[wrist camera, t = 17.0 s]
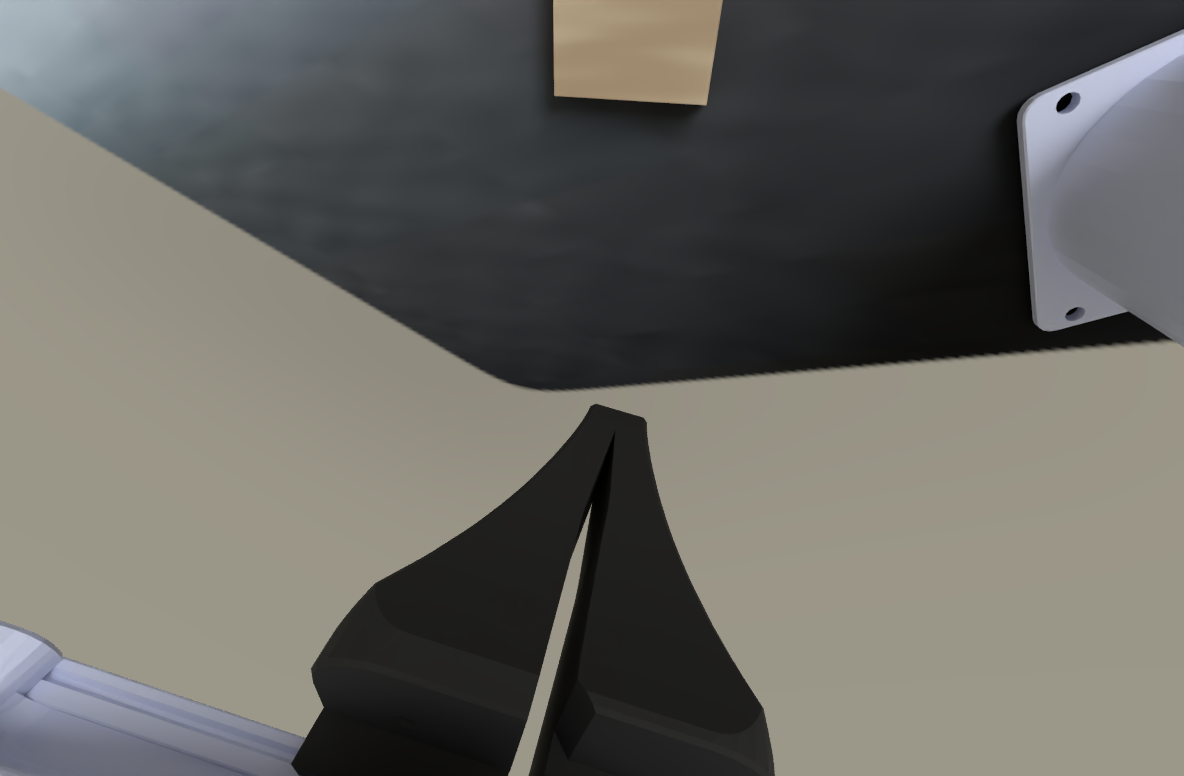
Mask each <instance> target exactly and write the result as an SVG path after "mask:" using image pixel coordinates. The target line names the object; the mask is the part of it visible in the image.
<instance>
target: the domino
mask: <svg viewBox="0 0 1184 776" xmlns="http://www.w3.org/2000/svg"><path fill="white" fill-rule="evenodd" d="M722 1H723V0H553V23H554V96H566V97H582V98H598V99H614V100H630V101H646V102H662V103H678V104H694V105H707V98H708V92H709V85H710V79H711V72H712V66H713V59H714V53H715V46H716V40H717V33H718V27H719V20H720V14H721V7H722Z"/></svg>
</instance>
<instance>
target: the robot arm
mask: <svg viewBox="0 0 1184 776" xmlns="http://www.w3.org/2000/svg"><path fill="white" fill-rule="evenodd" d="M1067 93H1071V95H1072V99H1071V102H1070V104H1069V105H1068V106H1067V107H1066V108H1065V109H1063V110H1062V111H1060V112H1057V110H1056V106H1057V102H1058V101H1059V100H1060V99H1061V97H1063V96H1064V95H1066V94H1067ZM1017 129H1018V142H1019V154H1020V167H1021V179H1022V191H1023V204H1024V216H1025V229H1026V241H1027V253H1028V266H1029V278H1030V291H1031V303H1032V316H1033V321H1034V324H1036V325H1037V326H1038V327H1039V328H1040V329H1042V330H1044V331H1055V330H1060V329H1063V328H1067V327H1071V326H1075V325H1078V324H1082V323H1086V322H1090V321H1094V320H1097V319H1101V318H1105V317H1109V316H1113V315H1116V314H1120V313H1124V312H1128V311H1129V312H1131V313H1132V314H1134V315H1135V316H1137V317H1139V318H1140V319H1142V320H1143V321H1145V322H1146V323H1148V324H1149V325H1151V326H1152V327H1154V328H1156V329H1157V330H1159V331H1160V332H1162V333H1163V334H1165V335H1166V336H1168V337H1170V338H1171V339H1173V340H1174V341H1176V342H1177V343H1179V344H1180V345H1182V346H1183V347H1184V29H1183V30H1181V31H1179V32H1176V33H1174V34H1172V35H1169V36H1167V37H1165V38H1163V39H1160V40H1158V41H1156V42H1154V43H1151V44H1149V45H1147V46H1144V47H1142V48H1140V49H1138V50H1135V51H1133V52H1131V53H1128V54H1126V55H1124V56H1122V57H1119V58H1117V59H1115V60H1113V61H1110V62H1108V63H1106V64H1103V65H1101V66H1099V67H1097V68H1094V69H1092V70H1090V71H1087V72H1085V73H1083V74H1081V75H1078V76H1076V77H1074V78H1071V79H1069V80H1067V81H1065V82H1062V83H1060V84H1058V85H1056V86H1053V87H1051V88H1049V89H1046V90H1044V91H1042V92H1040V93H1037V94H1036V95H1034V96H1032V97H1031V98H1029V99H1028V100H1027V101H1026V102H1025V103H1024V104H1023V105H1022V107H1021V109H1020V110H1019V112H1018V116H1017ZM1075 307H1078V309H1077V310H1076V311H1075V312H1074V313H1073V314H1070V315H1067V316H1065V315H1066V313H1067V312H1068V311H1069V310H1071V309H1073V308H1075ZM591 504H592V507H591ZM590 507H591V513H590V519H589V525H588V531H587V537H586V543H585V549H584V555H583V561H582V567H581V573H580V579H579V585H578V589H577V594H576V599H575V603H574V607H573V611H572V615H571V619H570V622H569V626H568V630H567V634H566V638H565V641H564V645H563V649H562V653H561V657H560V660H559V664H558V668H557V672H556V676H555V680H554V683H553V687H552V691H551V695H550V698H549V702H548V706H547V709H546V713H545V717H544V721H543V724H542V728H541V732H540V736H539V739H538V743H537V747H536V750H535V754H534V758H533V761H532V765H531V769H530V773H529V776H775V774H774V763H773V755H772V749H771V743H770V738H769V733H768V728H767V723H766V718H765V714H764V709H763V707H762V706H761V704H760V702H759V701H758V699H757V698H756V696H755V695H754V693H753V692H752V690H751V689H750V687H749V686H748V684H747V683H746V681H745V679H744V678H743V676H742V675H741V673H740V671H739V670H738V668H737V666H736V665H735V663H734V662H733V660H732V658H731V657H730V655H729V653H728V651H727V650H726V648H725V646H724V644H723V643H722V641H721V639H720V637H719V635H718V634H717V632H716V630H715V629H714V627H713V625H712V623H711V621H710V619H709V617H708V615H707V613H706V611H705V609H704V607H703V605H702V603H701V601H700V599H699V597H698V595H697V593H696V591H695V589H694V587H693V585H692V583H691V581H690V579H689V576H688V574H687V572H686V570H685V567H684V565H683V563H682V561H681V558H680V555H679V553H678V550H677V548H676V546H675V543H674V540H673V538H672V535H671V532H670V529H669V526H668V523H667V520H666V517H665V514H664V510H663V507H662V504H661V501H660V497H659V493H658V489H657V485H656V481H655V478H654V473H653V469H652V463H651V458H650V452H649V446H648V438H647V422H646V421H645V419H644V418H642V417H639V416H636V415H632V414H629V413H626V412H622V411H619V410H615V409H612V408H609V407H605V406H601V405H599V404H595V405H592V406H591V407H590V409H589V411H588V413H587V414H586V416H585V418H584V419H583V421H582V422H581V424H580V425H579V426H578V428H577V429H576V430H575V432H574V433H573V434H572V435H571V437H570V438H569V439H568V440H567V442H566V443H565V444H564V445H563V446H562V447H561V448H560V449H559V451H558V452H557V453H556V454H555V455H554V456H553V457H552V458H551V459H550V460H549V461H548V462H547V463H546V465H544V466H543V467H542V468H541V469H540V470H539V471H538V472H537V473H536V474H535V475H534V476H533V477H532V478H531V479H530V480H529V481H528V482H527V483H526V484H525V485H524V486H522V487H521V488H520V489H519V490H518V491H517V492H516V493H514V494H513V495H512V496H511V497H510V498H508V499H507V500H506V501H505V502H503V503H502V504H501V505H500V506H498V507H497V508H496V509H494V510H493V511H492V512H490V513H489V514H488V515H486V516H485V517H484V518H482V519H481V520H480V521H478V522H477V523H476V524H474V525H473V526H471V527H470V528H468V529H467V530H465V531H464V532H462V533H461V534H459V535H458V536H456V537H455V538H453V539H451V540H450V541H448V542H447V543H445V544H444V545H442V546H440V547H439V548H437V549H436V550H434V551H433V552H431V553H429V554H428V555H426V556H424V557H422V558H421V559H419V560H417V561H415V562H414V563H412V564H410V565H408V566H406V567H404V568H402V569H400V570H399V571H397V572H395V573H393V574H391V575H390V576H388V577H386V578H384V579H382V580H380V581H378V582H377V583H375V584H374V585H373V586H372V587H371V588H370V589H369V590H368V591H367V593H366V594H365V595H364V596H363V597H362V598H361V599H360V600H359V601H358V602H357V603H356V605H355V606H354V607H353V608H352V609H351V610H350V612H349V613H348V614H347V615H346V617H345V618H344V619H343V621H342V622H341V623H340V624H339V626H338V627H337V628H336V630H335V632H334V633H333V635H332V636H331V638H330V639H329V641H328V642H327V644H326V645H325V647H324V649H323V650H322V652H321V654H320V655H319V657H318V658H317V660H316V661H315V663H314V665H313V666H312V668H311V671H312V678H313V683H314V685H315V688H316V690H317V692H318V695H319V697H320V699H321V702H322V704H323V706H324V708H323V710H322V712H321V713H320V715H319V717H318V718H317V720H316V722H315V724H314V725H313V727H312V729H311V730H310V732H309V734H308V735H307V737H306V738H304V737H301V736H297V735H295V734H291V733H289V732H286V731H283V730H280V729H277V728H274V727H271V726H268V725H265V724H262V723H259V722H256V721H253V720H250V719H247V718H244V717H241V716H238V715H235V714H232V713H229V712H226V711H223V710H220V709H217V708H214V707H211V706H208V705H205V704H202V703H199V702H196V701H193V700H191V699H188V698H185V697H182V696H178V695H176V694H173V693H170V692H167V691H164V690H161V689H157V688H155V687H152V686H149V685H146V684H143V683H140V682H137V681H134V680H131V679H128V678H125V677H122V676H119V675H116V674H113V673H110V672H107V671H104V670H101V669H98V668H95V667H92V666H89V665H86V664H83V663H80V662H77V661H74V660H71V659H68V658H65V657H62V652H61V651H60V650H59V649H58V648H57V647H56V646H55V645H54V644H52V643H51V642H50V641H48V640H47V639H45V638H43V637H41V636H40V635H38V634H36V633H34V632H31V631H28V630H26V629H24V628H20V627H17V626H15V625H12V624H9V623H6V622H3V621H0V776H508V773H509V771H510V769H511V766H512V763H513V761H514V757H515V755H516V752H517V748H518V746H519V743H520V740H521V737H522V734H523V731H524V728H525V724H526V722H527V719H528V716H529V712H530V708H531V705H532V701H533V697H534V694H535V690H536V687H537V683H538V679H539V676H540V672H541V668H542V664H543V661H544V657H545V653H546V649H547V645H548V641H549V638H550V634H551V630H552V627H553V623H554V619H555V615H556V611H557V607H558V604H559V600H560V596H561V592H562V589H563V585H564V581H565V578H566V574H567V570H568V566H569V563H570V559H571V557H572V553H573V551H574V549H575V546H576V543H577V541H578V538H579V536H580V533H581V530H582V528H583V525H584V522H585V520H586V517H587V514H588V512H589V509H590Z"/></svg>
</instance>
